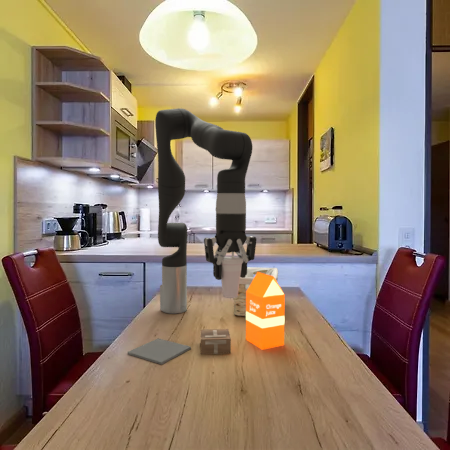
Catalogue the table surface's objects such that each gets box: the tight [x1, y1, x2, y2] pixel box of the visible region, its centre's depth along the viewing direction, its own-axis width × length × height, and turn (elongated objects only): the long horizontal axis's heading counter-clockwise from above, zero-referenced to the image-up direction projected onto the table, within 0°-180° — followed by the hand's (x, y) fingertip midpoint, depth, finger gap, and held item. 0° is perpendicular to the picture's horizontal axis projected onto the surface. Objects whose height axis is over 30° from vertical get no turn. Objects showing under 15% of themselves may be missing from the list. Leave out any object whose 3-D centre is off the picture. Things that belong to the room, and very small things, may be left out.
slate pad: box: [127, 337, 192, 365], centre depth 98 cm, size 12×12×1 cm
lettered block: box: [200, 328, 232, 355], centre depth 101 cm, size 8×8×4 cm
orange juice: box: [245, 272, 286, 351], centre depth 105 cm, size 8×9×20 cm
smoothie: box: [220, 252, 243, 299], centre depth 92 cm, size 6×6×14 cm
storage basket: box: [232, 266, 279, 317], centre depth 140 cm, size 24×16×15 cm
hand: (230, 277), depth 92 cm, fingers closed on smoothie, 6 cm apart
